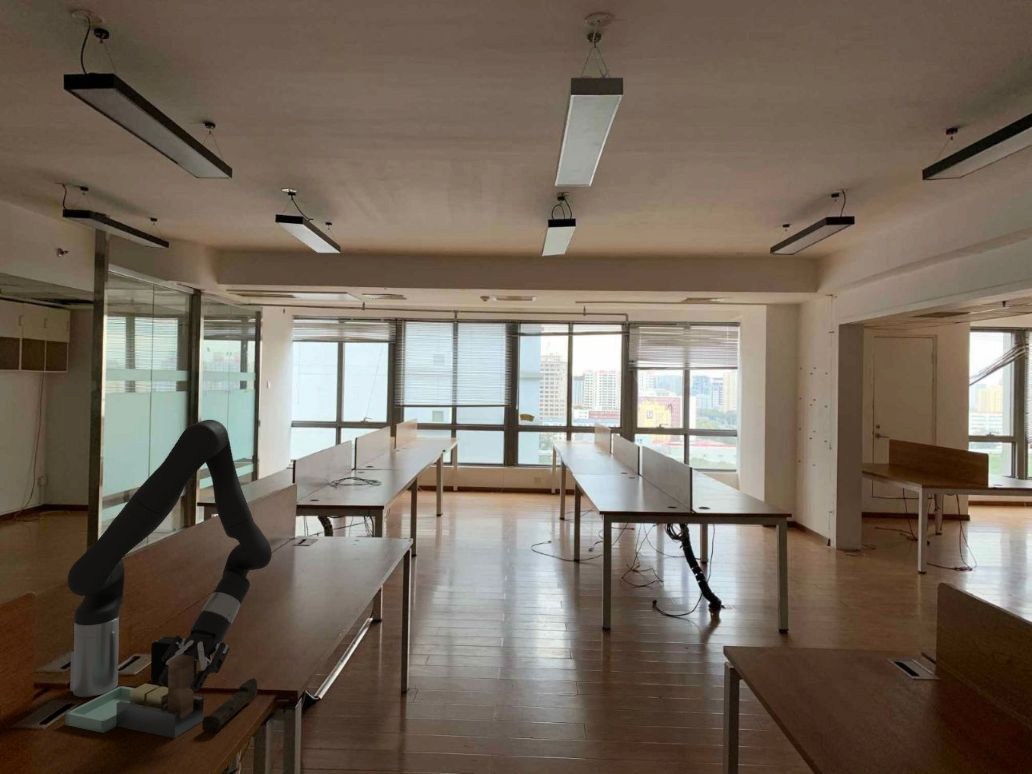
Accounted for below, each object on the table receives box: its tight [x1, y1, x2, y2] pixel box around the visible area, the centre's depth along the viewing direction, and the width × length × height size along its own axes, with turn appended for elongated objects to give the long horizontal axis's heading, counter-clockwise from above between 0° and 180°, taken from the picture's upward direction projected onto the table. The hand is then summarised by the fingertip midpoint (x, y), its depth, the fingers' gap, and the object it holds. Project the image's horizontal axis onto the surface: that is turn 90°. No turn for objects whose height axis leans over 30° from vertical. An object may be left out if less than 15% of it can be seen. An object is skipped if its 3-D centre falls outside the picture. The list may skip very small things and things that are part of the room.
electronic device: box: [150, 636, 198, 683], centre depth 165 cm, size 4×10×10 cm, turn 80°
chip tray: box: [64, 685, 136, 734], centre depth 147 cm, size 11×14×2 cm
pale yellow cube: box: [147, 685, 168, 709], centre depth 143 cm, size 4×4×4 cm
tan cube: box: [130, 683, 160, 706], centre depth 145 cm, size 4×4×4 cm
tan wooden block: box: [162, 655, 195, 718], centre depth 142 cm, size 4×5×12 cm
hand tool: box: [201, 677, 258, 734], centre depth 149 cm, size 19×4×5 cm, turn 170°
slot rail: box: [116, 695, 205, 739], centre depth 143 cm, size 16×8×5 cm, turn 73°
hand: (177, 687), depth 141 cm, fingers open, 8 cm apart
